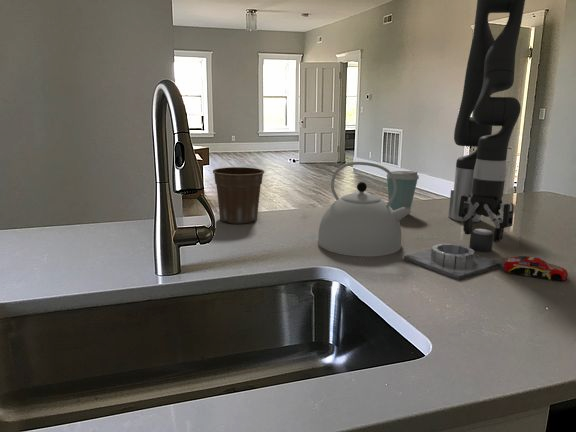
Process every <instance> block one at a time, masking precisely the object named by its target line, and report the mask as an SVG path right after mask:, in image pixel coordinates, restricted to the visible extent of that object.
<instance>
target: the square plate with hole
mask: <svg viewBox="0 0 576 432" xmlns="http://www.w3.org/2000/svg"><path fill="white" fill-rule="evenodd" d="M403 260H404V261H406V262H409V263H412V264H414V265H416V266H417V265H418V266H420V267H423V268H426V269H427V270H431V271H432V272H435V273H438V274H440V275H444V276H447V277H448V278H452V279H455V280H457V281H461V280H465V279H467V278H470V277H474V276H476V275H480V274H482V273H486V272H489V271H491V270H495V269H498V268H501V267H502V262H500V261H496V260H494V259H490V258H487V257H485V256H481V255H478V254H475V251H474V250H473V249H471V248H469V246H466V245H463V244H457V243H436V244H434V245H432V247H431V248H430V249H427V250H422V251H418V252H415V253H410V254H406V255H404V256H403Z"/></svg>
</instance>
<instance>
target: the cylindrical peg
mask: <svg viewBox="0 0 576 432" xmlns="http://www.w3.org/2000/svg"><path fill="white" fill-rule="evenodd" d="M493 239H494V232H493V231H492V230H489V229H485V228H474V229H473V228H472V231H471V234H470V239H469V246H468V247H469V248H471V249H473V250H474V252H478V253H491V252H492V251H493V243H494V241H493Z"/></svg>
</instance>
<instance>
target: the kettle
mask: <svg viewBox="0 0 576 432" xmlns="http://www.w3.org/2000/svg"><path fill="white" fill-rule="evenodd" d="M355 165H356V166H368V167H373V168H377V169H380V170H382V171H384V172H386V173H387V174H389V175H390V176H391V178H392V180H393V184H394V190H393V194H392V196H391V198H390V200H389V199H388V202H386V201H385V200H384V199H381V197H379V196H377V195H374V194H372V193H371V194H370V193H368V192H367V193H366V192H365V191H366V190H367V188H368V186H367V184H366V183H365V182H364V181H360V182H359V183H357V184H356V189H357V191H358V192H353V193H349V194H346V195H345V194H344V195H343V196H341V197H339V196H338V194H337V193H336V190H335V179H336V176H337V175H338V173H339V172H340V171H342V170H343V169H345V168H347V167H350V166H355ZM330 189H331V192H332V193H331V194H332V195H333V197H334V198H335V201H334V202H333V203H331V204H330V205H329V206H328V208H327V209H326V210H325V212H324V213H323V215H322V217H321V219H320V223H319V227H318V240H317V244H318V246H320V247H321V248H322V249H323V250H325V251H329V252H331V253H334V254H335V253H336V254H340V255H343V256H344V255H345V256H351V257H352V256H353V257H364V258H365V257H370V258H371V257H382V256H386V255H387V256H388V255H392V254H394V253H397V252H399V251H400V250H401V248H402V228H401V224H400V220H402V219H403V218H405V217H407V216H408V215H410V214H411V213H412V212H413V210H411V209H409V208H407V207H402V208H399V209H397V210H394V211H393V209H392V208H391V207H390V204H391V203H392V201H393V199H394V197H395V195H396V191H397V184H396V180H395V177H394V175H393V174H392V173H391V171H390V169H388V168H386V167H385V166H382V165H380V164H377V163H373V162H367V161H366V162H365V161H351V162H347V163H344V164H342V165H341V166H339V167H338V168H337V169H336V170H335V171H334V172H333V175H332V176H331V181H330Z"/></svg>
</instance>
